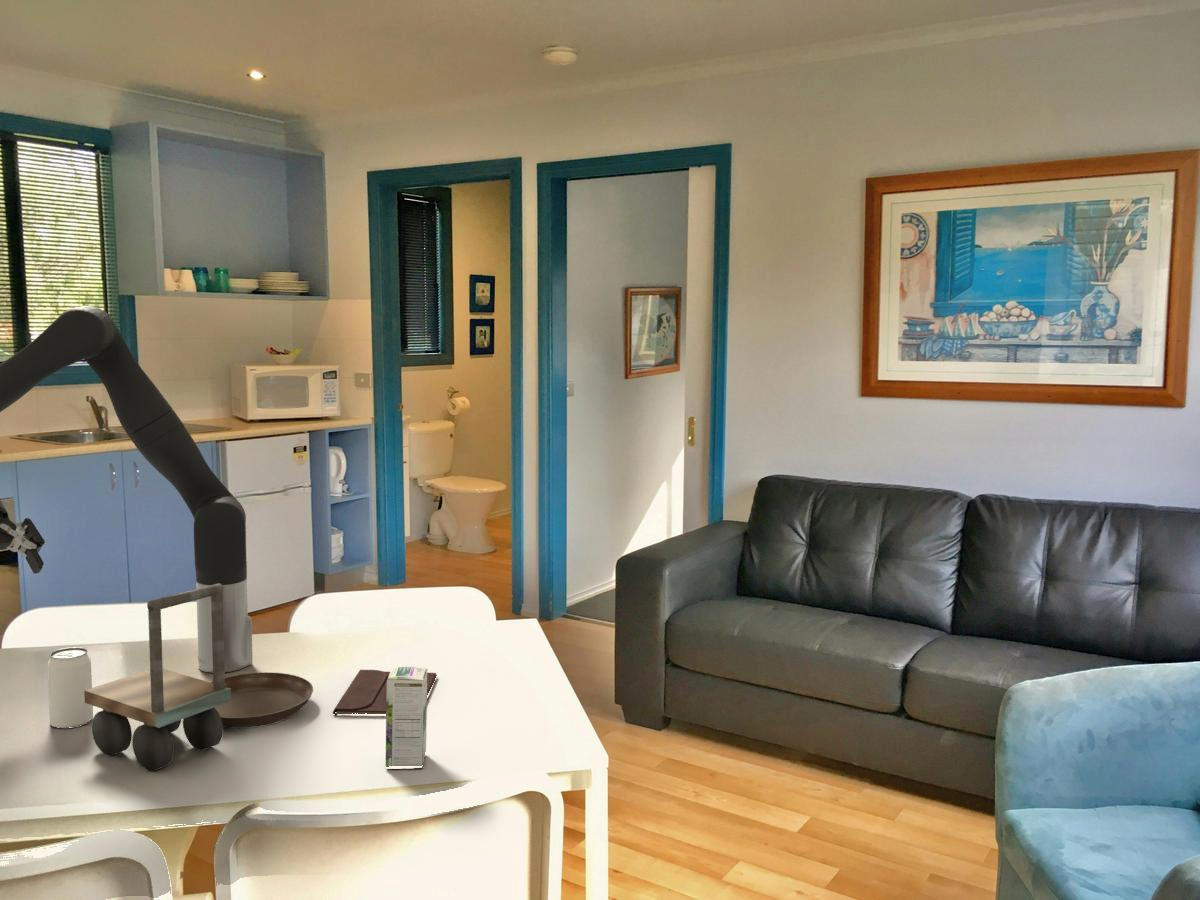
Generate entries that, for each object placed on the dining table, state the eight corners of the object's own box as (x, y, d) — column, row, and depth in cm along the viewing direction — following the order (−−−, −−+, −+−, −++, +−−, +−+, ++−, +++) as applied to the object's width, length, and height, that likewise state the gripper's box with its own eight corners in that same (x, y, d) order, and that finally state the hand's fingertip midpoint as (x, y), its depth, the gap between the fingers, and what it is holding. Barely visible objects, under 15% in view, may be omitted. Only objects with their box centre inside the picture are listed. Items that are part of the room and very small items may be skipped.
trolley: (86, 752, 161) (79, 584, 158) (159, 724, 172) (154, 568, 169) (160, 779, 152) (154, 603, 149) (232, 749, 163) (228, 584, 160)
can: (75, 731, 169) (72, 660, 167) (40, 727, 170) (37, 657, 169) (101, 716, 175) (99, 648, 174) (68, 712, 176) (65, 645, 175)
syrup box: (389, 754, 163) (389, 666, 161) (427, 754, 163) (427, 665, 161) (385, 770, 157) (384, 678, 155) (424, 770, 158) (424, 678, 156)
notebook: (437, 680, 198) (437, 670, 197) (419, 720, 178) (419, 709, 178) (358, 679, 197) (358, 668, 197) (332, 719, 178) (332, 707, 178)
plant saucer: (242, 744, 166) (242, 725, 165) (162, 716, 177) (161, 697, 176) (338, 705, 183) (338, 687, 183) (259, 681, 194) (259, 664, 194)
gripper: (-62, 493, 172) (-21, 570, 168) (22, 483, 185) (63, 554, 180) (-77, 521, 176) (-37, 597, 171) (6, 509, 188) (46, 579, 184)
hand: (14, 575), depth 176 cm, fingers open, 8 cm apart
